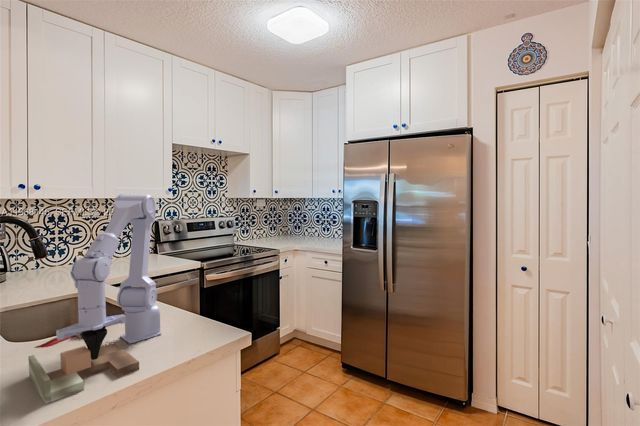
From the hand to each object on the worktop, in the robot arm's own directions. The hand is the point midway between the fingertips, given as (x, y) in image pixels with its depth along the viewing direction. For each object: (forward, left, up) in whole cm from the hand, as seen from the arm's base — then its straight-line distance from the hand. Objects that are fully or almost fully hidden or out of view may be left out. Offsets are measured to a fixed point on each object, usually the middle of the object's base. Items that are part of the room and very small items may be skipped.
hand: (94, 358), depth 87 cm
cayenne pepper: (+2, -27, -4) cm, 27 cm away
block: (+4, 0, -1) cm, 4 cm away
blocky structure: (+2, 0, -3) cm, 4 cm away
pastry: (-7, -27, -3) cm, 28 cm away
